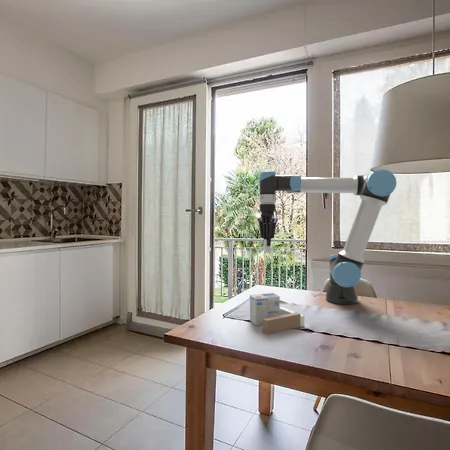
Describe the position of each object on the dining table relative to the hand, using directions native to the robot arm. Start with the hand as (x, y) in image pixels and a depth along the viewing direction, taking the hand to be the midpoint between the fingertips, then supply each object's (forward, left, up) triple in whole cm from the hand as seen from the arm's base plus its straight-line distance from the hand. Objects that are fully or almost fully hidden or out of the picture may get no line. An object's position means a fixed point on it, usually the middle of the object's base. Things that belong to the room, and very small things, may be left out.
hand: (267, 252), depth 158 cm
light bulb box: (+17, +21, -25) cm, 37 cm away
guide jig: (+17, +21, -24) cm, 36 cm away
